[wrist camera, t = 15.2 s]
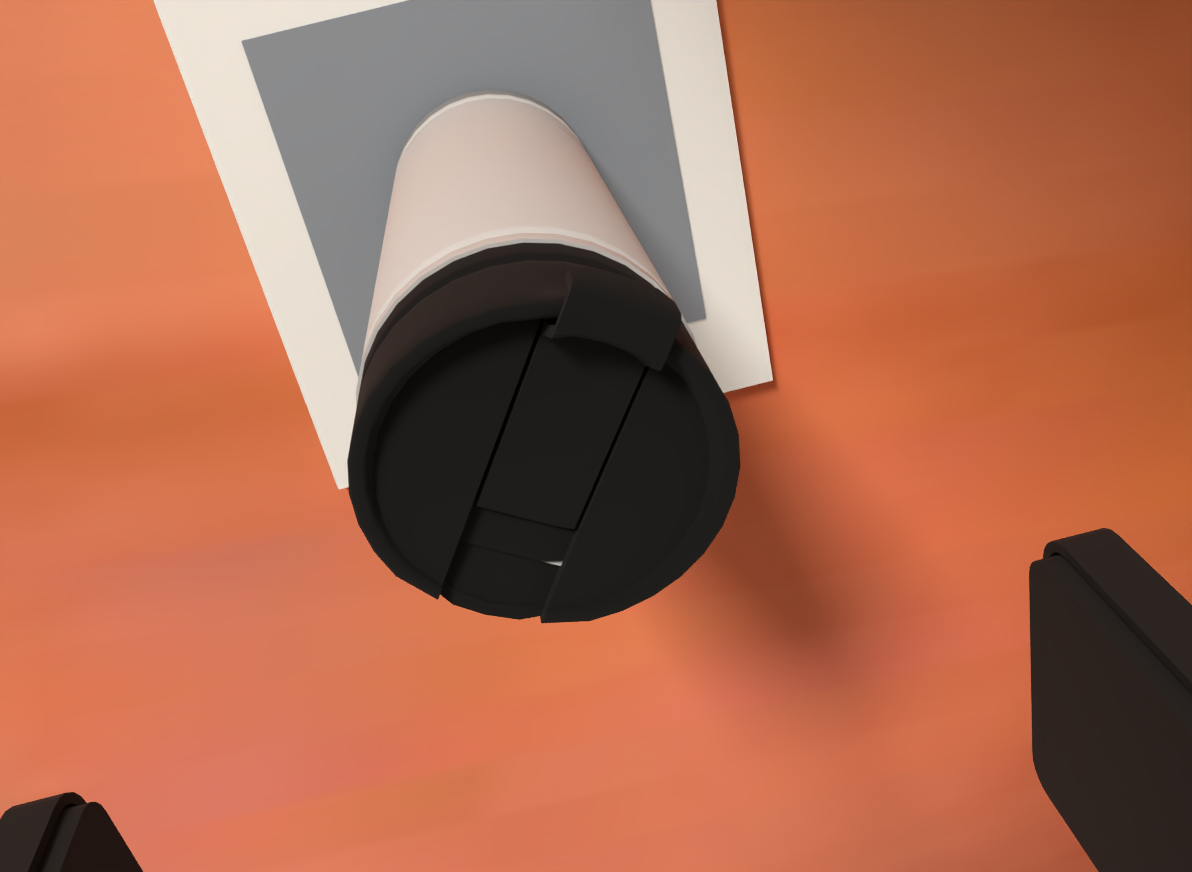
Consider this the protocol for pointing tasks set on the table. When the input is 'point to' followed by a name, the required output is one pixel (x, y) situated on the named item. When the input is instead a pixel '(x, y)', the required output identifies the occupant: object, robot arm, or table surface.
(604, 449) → the travel mug
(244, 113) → the card
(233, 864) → the table surface
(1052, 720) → the robot arm
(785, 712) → the table surface
